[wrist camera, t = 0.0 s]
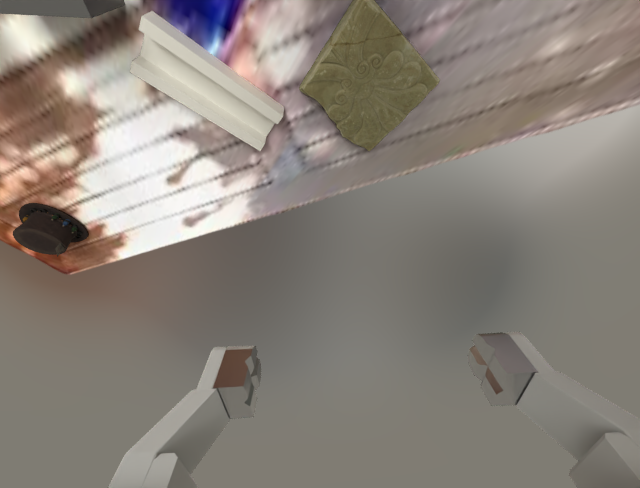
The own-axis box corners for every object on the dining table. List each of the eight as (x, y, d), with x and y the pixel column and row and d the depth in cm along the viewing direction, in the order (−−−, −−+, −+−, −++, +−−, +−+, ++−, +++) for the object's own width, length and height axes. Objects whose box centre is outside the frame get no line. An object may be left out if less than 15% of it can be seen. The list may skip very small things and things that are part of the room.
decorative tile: (361, -15, 41) (365, -12, 38) (437, 76, 51) (443, 83, 48) (292, 90, 52) (292, 98, 49) (365, 149, 61) (368, 157, 59)
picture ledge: (152, 10, 42) (141, 16, 39) (284, 107, 53) (283, 116, 51) (139, 64, 47) (129, 72, 44) (262, 141, 59) (260, 151, 56)
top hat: (65, 246, 82) (44, 274, 75) (7, 212, 71) (-25, 242, 65) (101, 232, 78) (81, 261, 71) (44, 195, 68) (15, 224, 61)
